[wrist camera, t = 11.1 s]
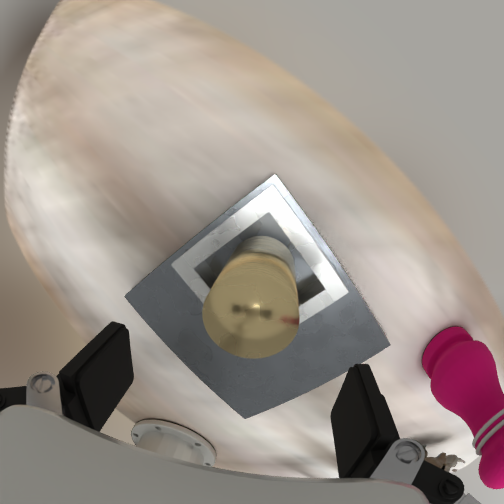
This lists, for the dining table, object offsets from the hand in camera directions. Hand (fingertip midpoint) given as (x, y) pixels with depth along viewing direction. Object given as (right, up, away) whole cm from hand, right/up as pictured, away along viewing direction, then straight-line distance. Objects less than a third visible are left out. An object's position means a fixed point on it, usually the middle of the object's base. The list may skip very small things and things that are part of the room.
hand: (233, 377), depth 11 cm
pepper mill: (+22, -6, +13) cm, 26 cm away
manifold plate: (+1, -1, +14) cm, 14 cm away
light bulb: (+2, +4, +11) cm, 12 cm away
